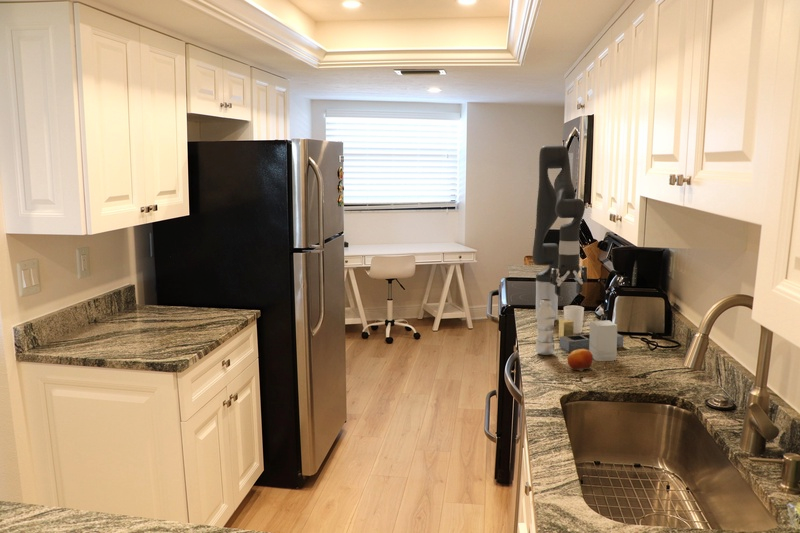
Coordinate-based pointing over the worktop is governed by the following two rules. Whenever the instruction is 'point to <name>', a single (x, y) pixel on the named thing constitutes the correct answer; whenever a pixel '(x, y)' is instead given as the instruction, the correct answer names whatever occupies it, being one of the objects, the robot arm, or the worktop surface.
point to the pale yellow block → (565, 327)
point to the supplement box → (603, 340)
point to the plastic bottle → (545, 328)
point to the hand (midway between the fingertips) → (568, 294)
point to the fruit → (580, 359)
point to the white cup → (575, 317)
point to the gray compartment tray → (581, 342)
